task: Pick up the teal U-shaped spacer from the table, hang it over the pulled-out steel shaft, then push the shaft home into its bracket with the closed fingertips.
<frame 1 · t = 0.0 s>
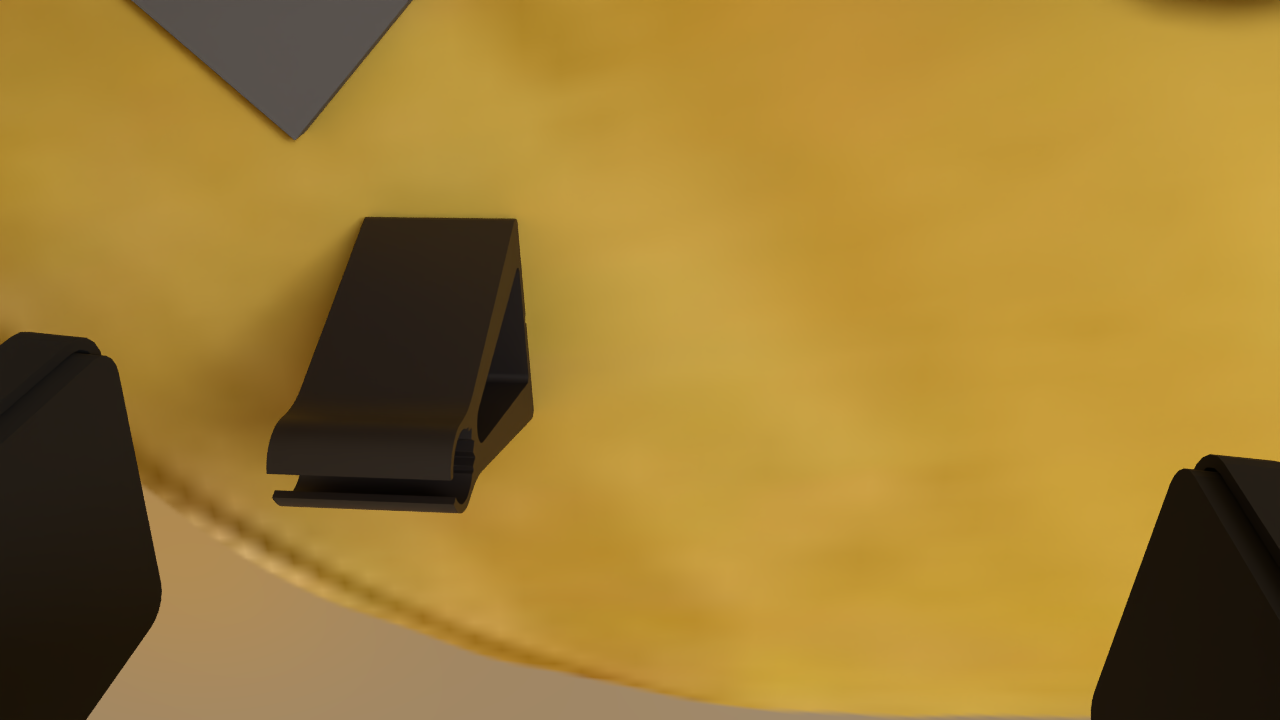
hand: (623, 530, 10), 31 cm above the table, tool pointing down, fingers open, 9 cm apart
phone stand: (455, 315, 45), on the table
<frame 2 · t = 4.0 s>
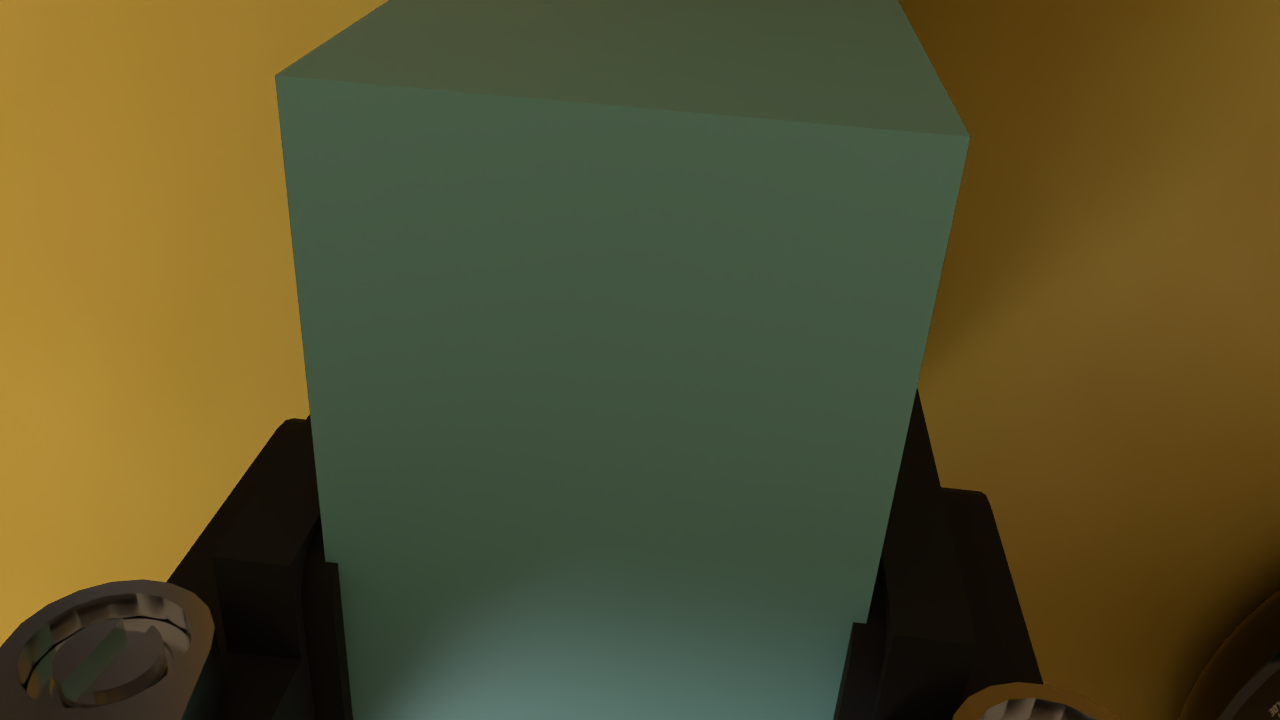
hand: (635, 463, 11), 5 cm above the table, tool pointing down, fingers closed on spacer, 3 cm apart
spacer: (675, 246, 16), on the table, touching gripper
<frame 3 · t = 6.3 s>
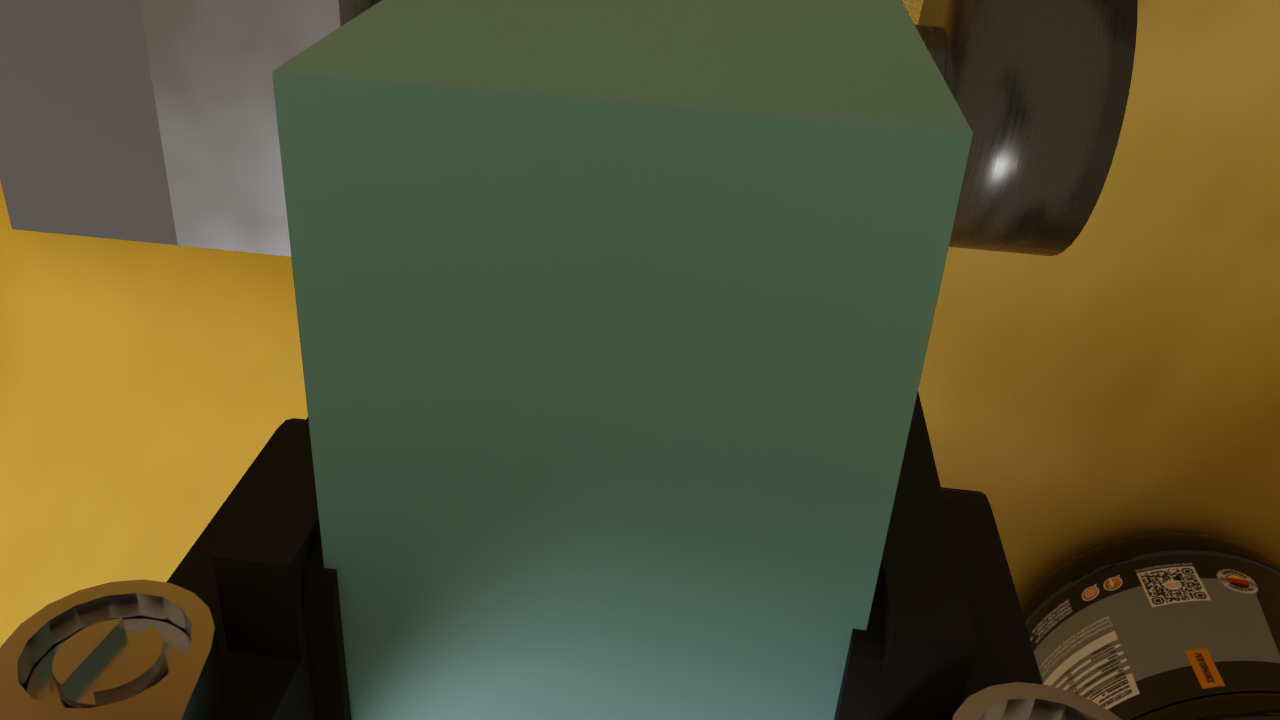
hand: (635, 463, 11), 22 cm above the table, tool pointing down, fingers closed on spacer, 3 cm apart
shaft: (638, 58, 24), point 6 cm above the table, slide at 8.0 cm
spacer: (676, 245, 16), point 16 cm above the table, touching gripper
supplement container: (1147, 634, 38), on the table
bracket: (321, 24, 25), on the base plate, point 5 cm above the table
when the fingers open (8 cm above the table, at t = 9.1 s): spacer stays where it is, resting on shaft.
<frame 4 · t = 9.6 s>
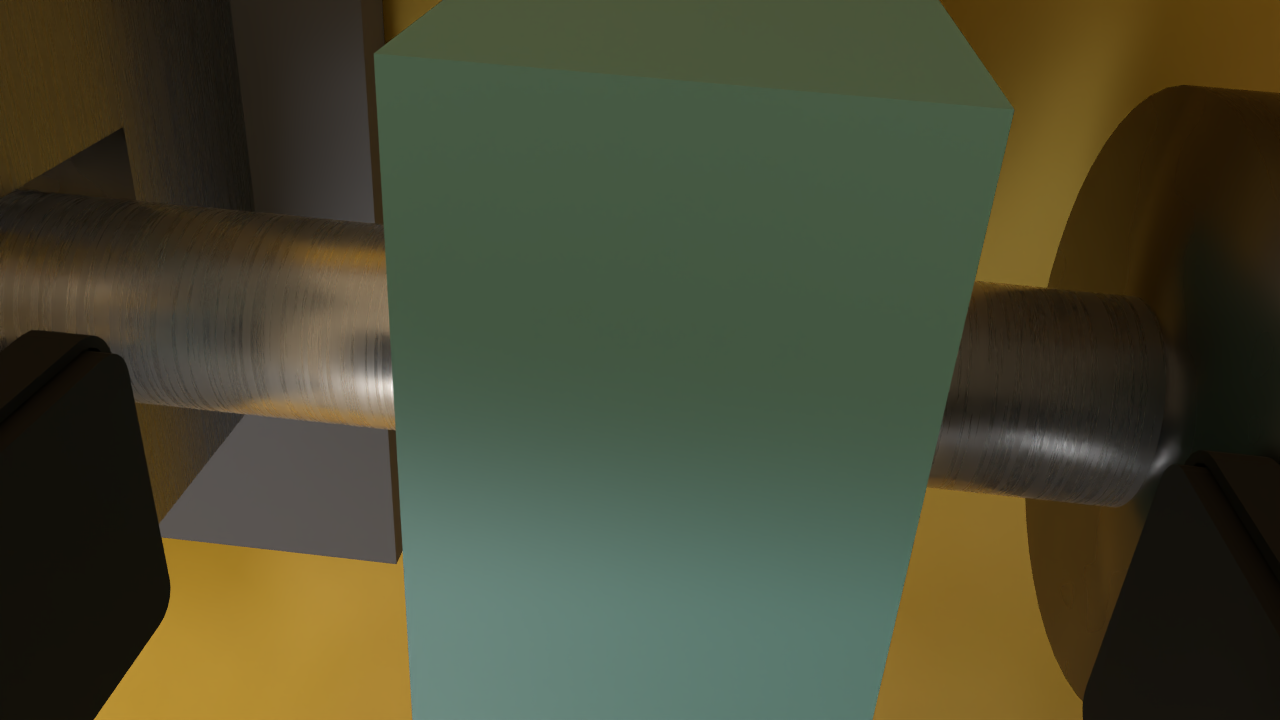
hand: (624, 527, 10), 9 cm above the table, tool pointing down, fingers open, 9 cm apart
shaft: (554, 344, 13), point 6 cm above the table, slide at 8.3 cm, touching gripper, spacer
spacer: (700, 232, 16), point 2 cm above the table, touching shaft
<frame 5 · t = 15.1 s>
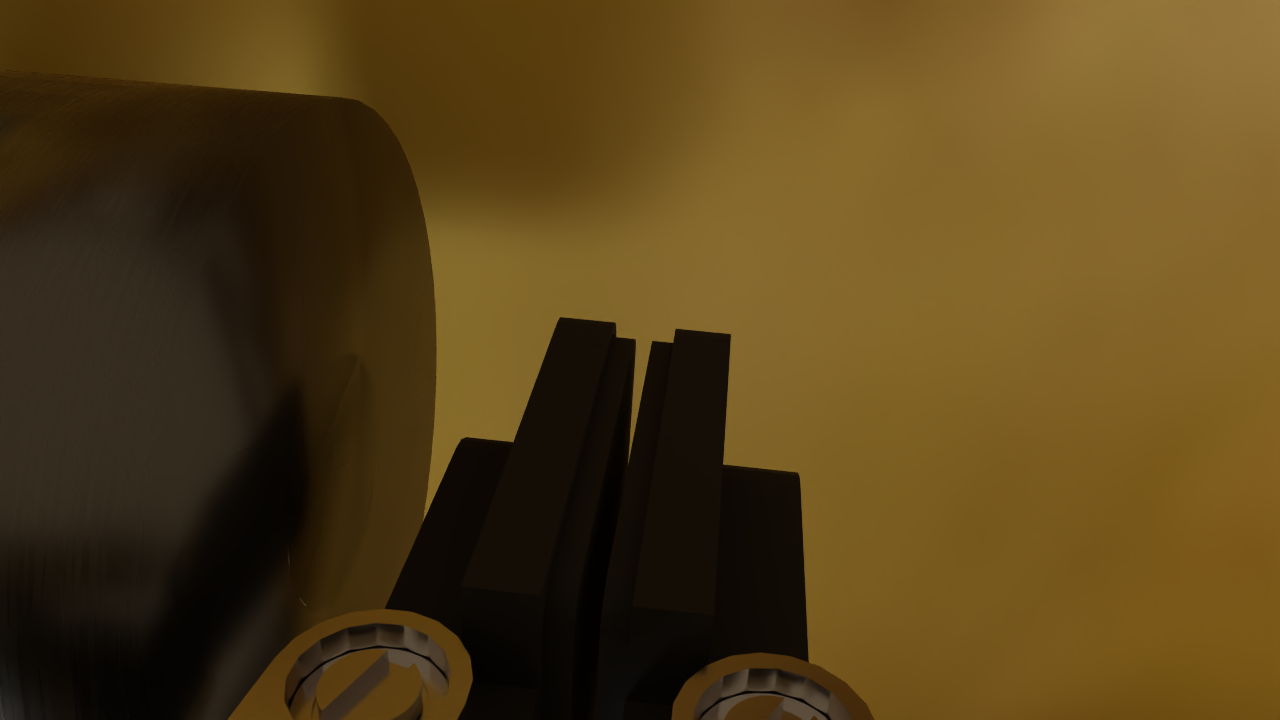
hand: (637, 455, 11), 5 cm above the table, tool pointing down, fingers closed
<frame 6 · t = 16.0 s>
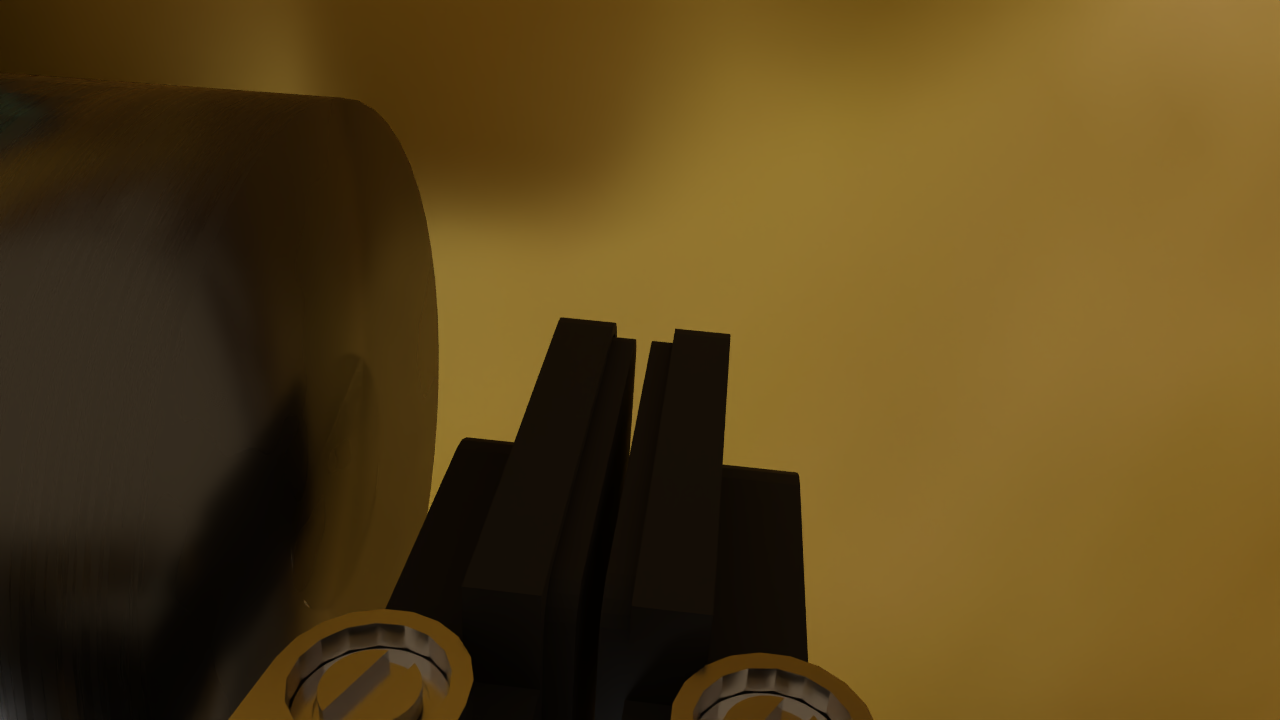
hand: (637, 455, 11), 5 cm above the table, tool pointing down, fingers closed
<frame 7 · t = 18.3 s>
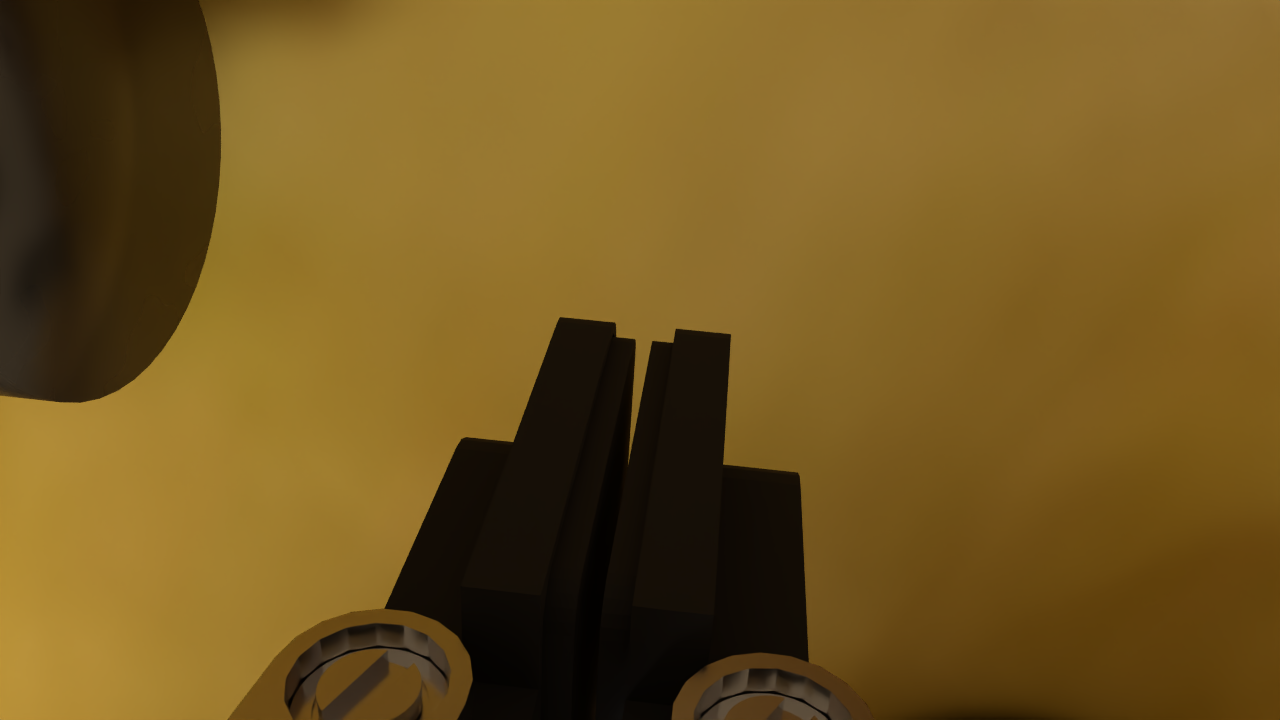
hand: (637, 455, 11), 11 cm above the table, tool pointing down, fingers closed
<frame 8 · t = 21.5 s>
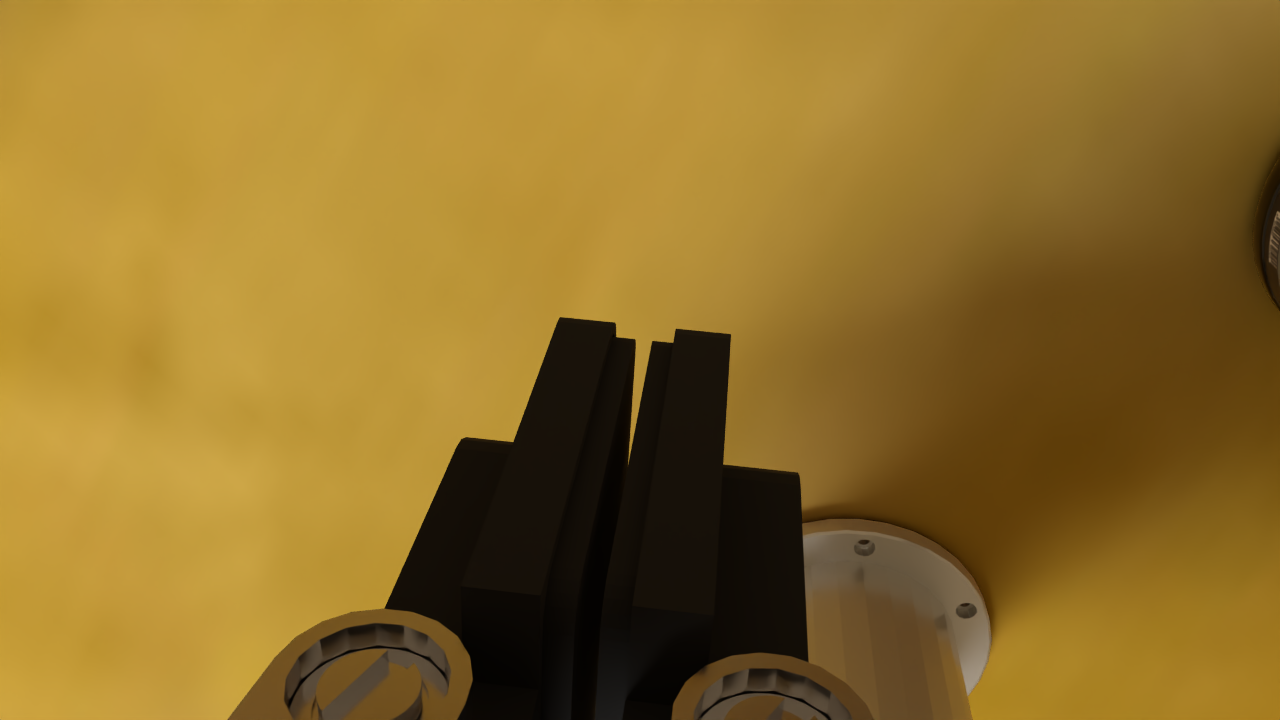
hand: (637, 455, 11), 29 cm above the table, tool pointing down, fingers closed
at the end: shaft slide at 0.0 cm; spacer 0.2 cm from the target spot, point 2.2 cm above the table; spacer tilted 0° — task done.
